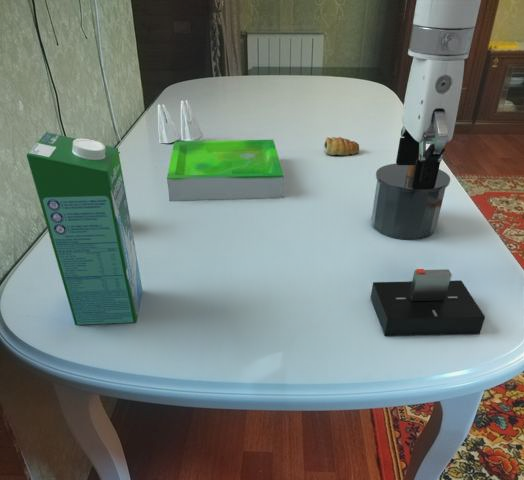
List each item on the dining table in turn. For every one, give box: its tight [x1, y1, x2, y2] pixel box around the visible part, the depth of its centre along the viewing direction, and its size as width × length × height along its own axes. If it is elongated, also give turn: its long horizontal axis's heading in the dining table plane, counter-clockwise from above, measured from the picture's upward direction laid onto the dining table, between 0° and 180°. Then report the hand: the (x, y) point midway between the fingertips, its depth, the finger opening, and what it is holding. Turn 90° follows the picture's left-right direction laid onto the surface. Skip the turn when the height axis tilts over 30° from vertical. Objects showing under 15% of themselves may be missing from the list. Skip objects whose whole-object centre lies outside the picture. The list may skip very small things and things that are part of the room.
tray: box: [166, 139, 285, 202], centre depth 120 cm, size 25×25×5 cm
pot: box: [370, 179, 446, 241], centre depth 98 cm, size 13×13×10 cm
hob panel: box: [370, 279, 486, 337], centre depth 76 cm, size 14×10×3 cm
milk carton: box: [26, 131, 143, 326], centre depth 71 cm, size 9×9×25 cm
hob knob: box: [409, 268, 453, 301], centre depth 74 cm, size 5×1×5 cm, turn 92°
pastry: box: [323, 136, 360, 156], centre depth 135 cm, size 9×7×4 cm
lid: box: [375, 157, 451, 192], centre depth 93 cm, size 14×14×7 cm
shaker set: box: [157, 99, 204, 145], centre depth 139 cm, size 12×4×11 cm, turn 81°
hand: (413, 176), depth 75 cm, fingers open, 9 cm apart
